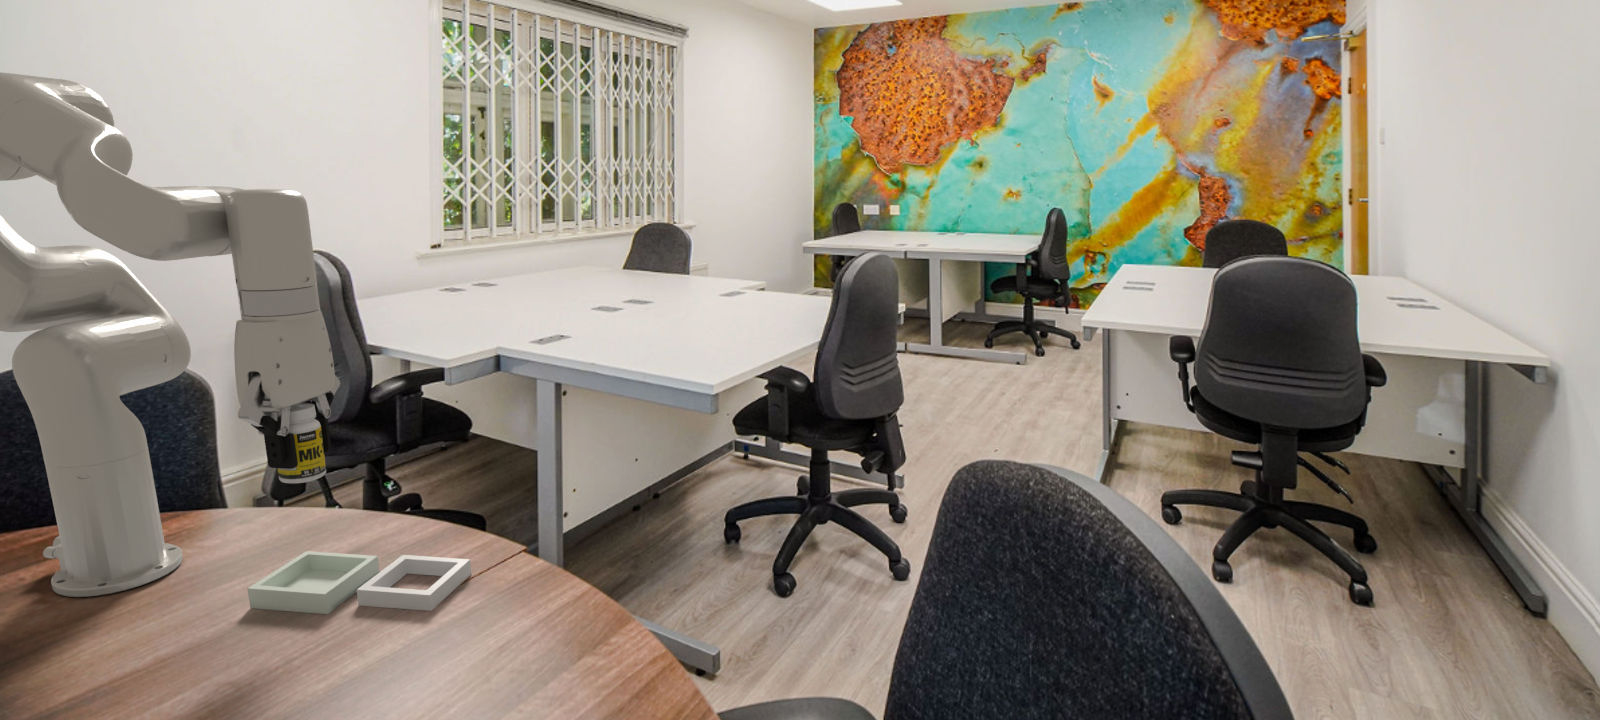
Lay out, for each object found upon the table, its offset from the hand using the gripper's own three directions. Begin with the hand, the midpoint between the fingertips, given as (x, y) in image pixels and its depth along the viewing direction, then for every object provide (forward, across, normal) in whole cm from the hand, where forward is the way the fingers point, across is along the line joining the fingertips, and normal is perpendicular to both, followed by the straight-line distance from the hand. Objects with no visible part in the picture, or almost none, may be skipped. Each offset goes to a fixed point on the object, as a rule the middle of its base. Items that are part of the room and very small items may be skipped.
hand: (300, 457), depth 94 cm
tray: (+17, 0, 0) cm, 17 cm away
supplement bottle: (+3, 0, 0) cm, 3 cm away
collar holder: (+17, -2, +11) cm, 20 cm away
